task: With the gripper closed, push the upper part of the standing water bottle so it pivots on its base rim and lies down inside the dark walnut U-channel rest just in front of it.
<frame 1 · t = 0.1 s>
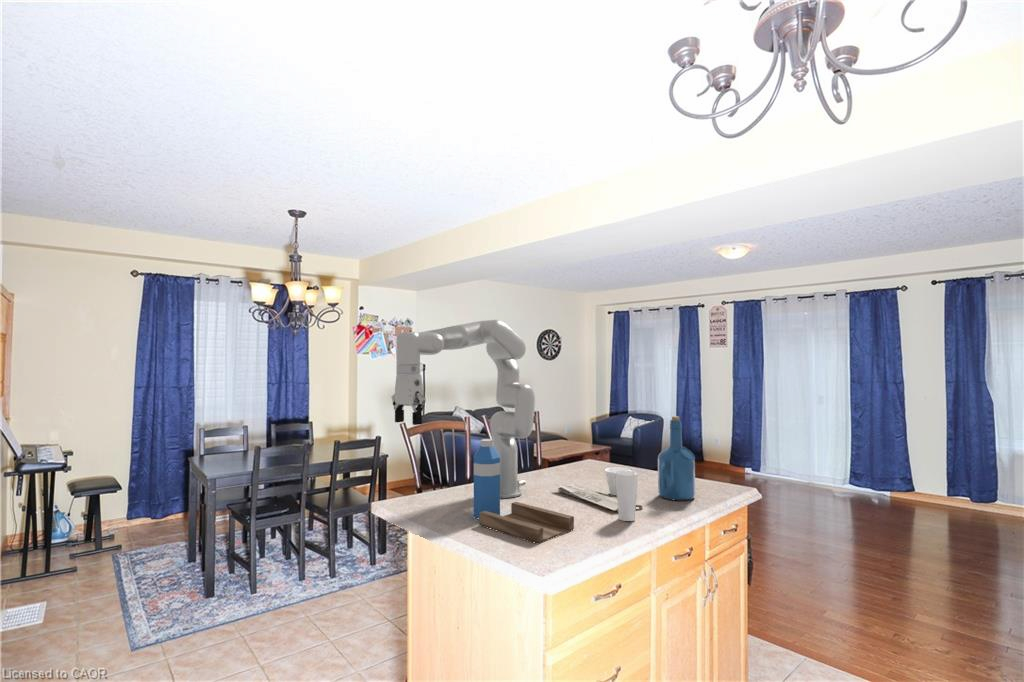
hand: (408, 423, 169), 31 cm above the worktop, tool pointing down, fingers open, 9 cm apart
water bottle: (486, 516, 173), on the worktop
newspaper: (594, 502, 191), on the worktop
u rest: (526, 527, 161), on the worktop
wine bottle: (677, 497, 196), on the worktop
drinking glass: (626, 520, 168), on the worktop
cup: (618, 495, 199), on the worktop
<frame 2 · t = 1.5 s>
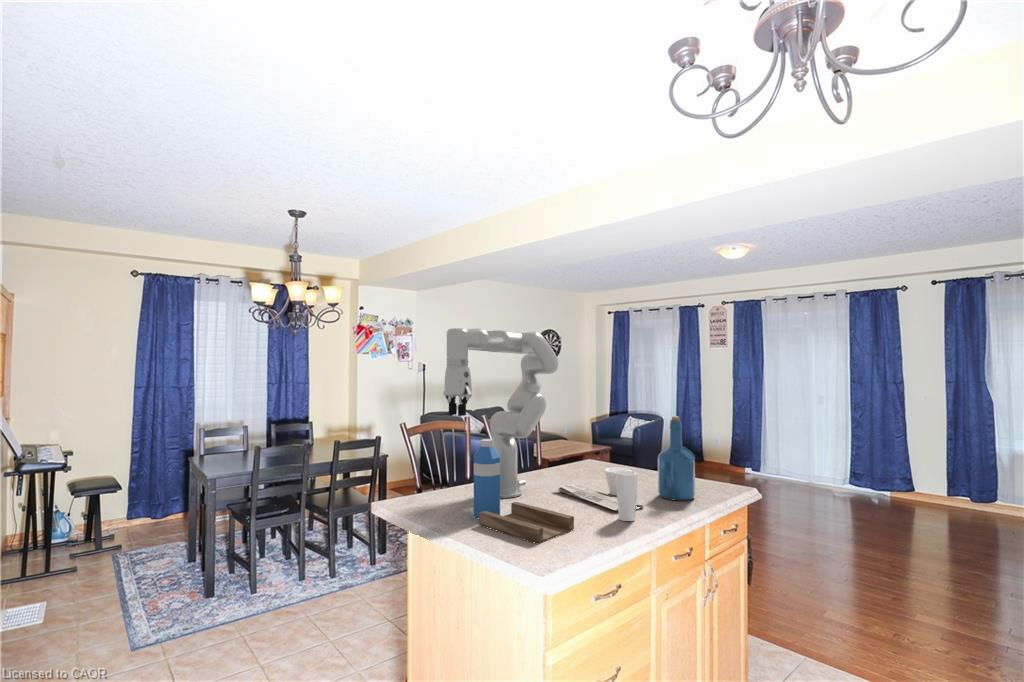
hand: (457, 414, 184), 32 cm above the worktop, tool pointing down, fingers open, 4 cm apart
nothing on the worktop moved.
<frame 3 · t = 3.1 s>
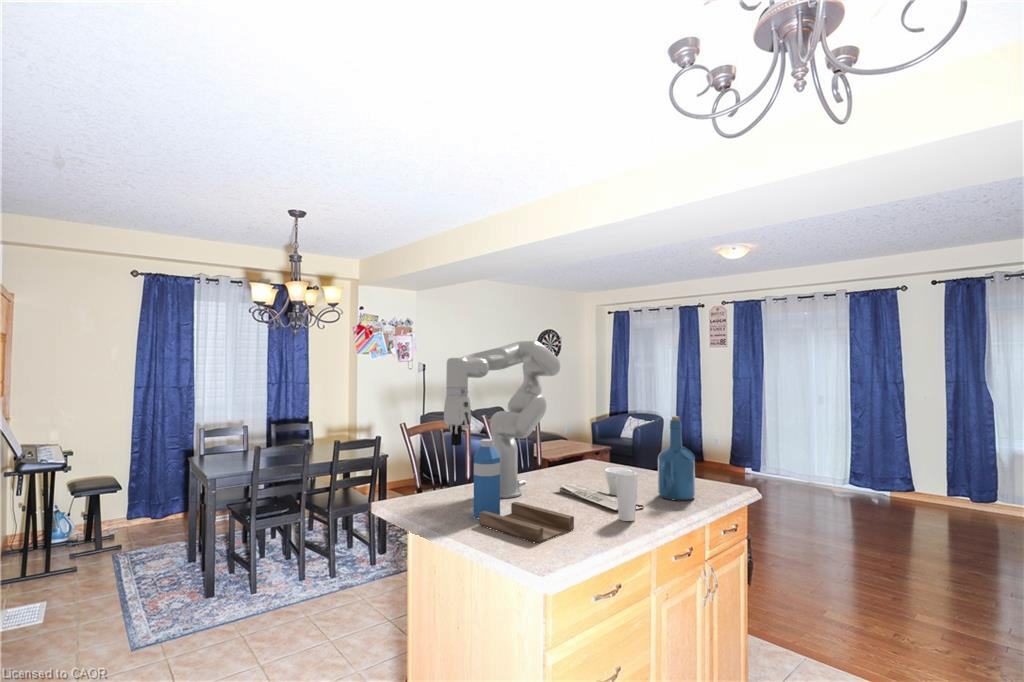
hand: (456, 444, 184), 22 cm above the worktop, tool pointing down, fingers closed
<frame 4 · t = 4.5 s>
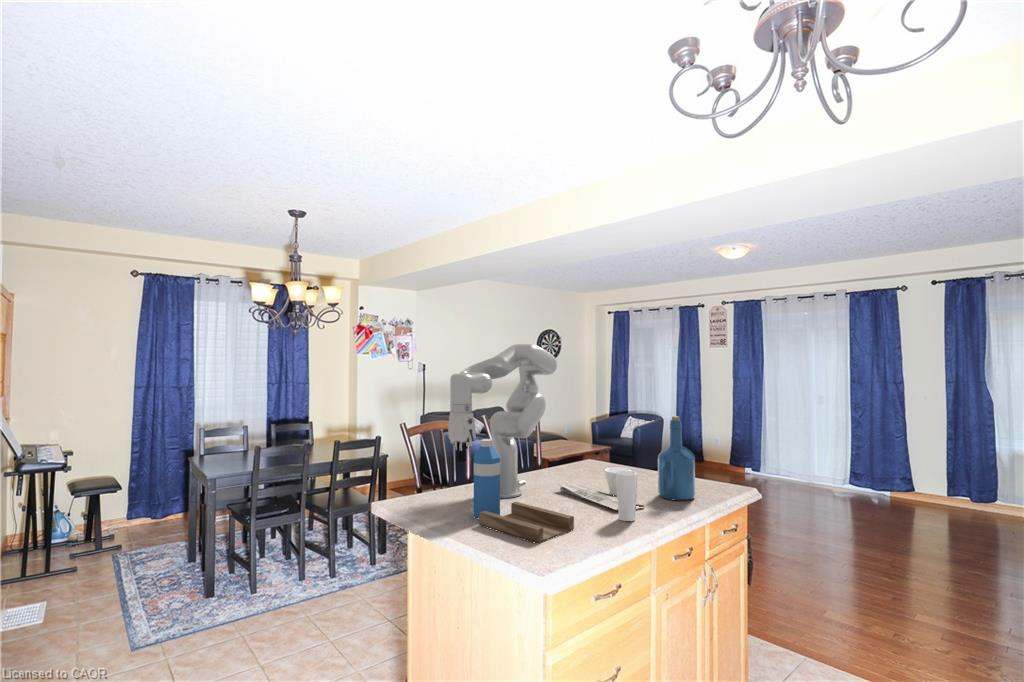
hand: (461, 461, 182), 16 cm above the worktop, tool pointing down, fingers closed
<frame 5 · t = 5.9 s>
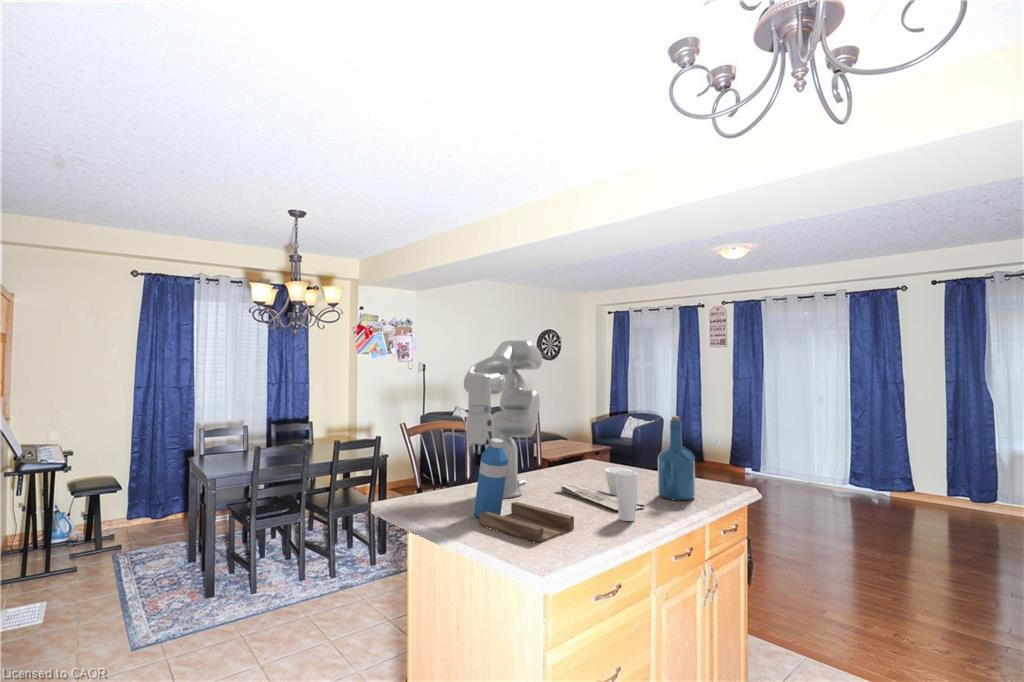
hand: (479, 464, 175), 16 cm above the worktop, tool pointing down, fingers closed
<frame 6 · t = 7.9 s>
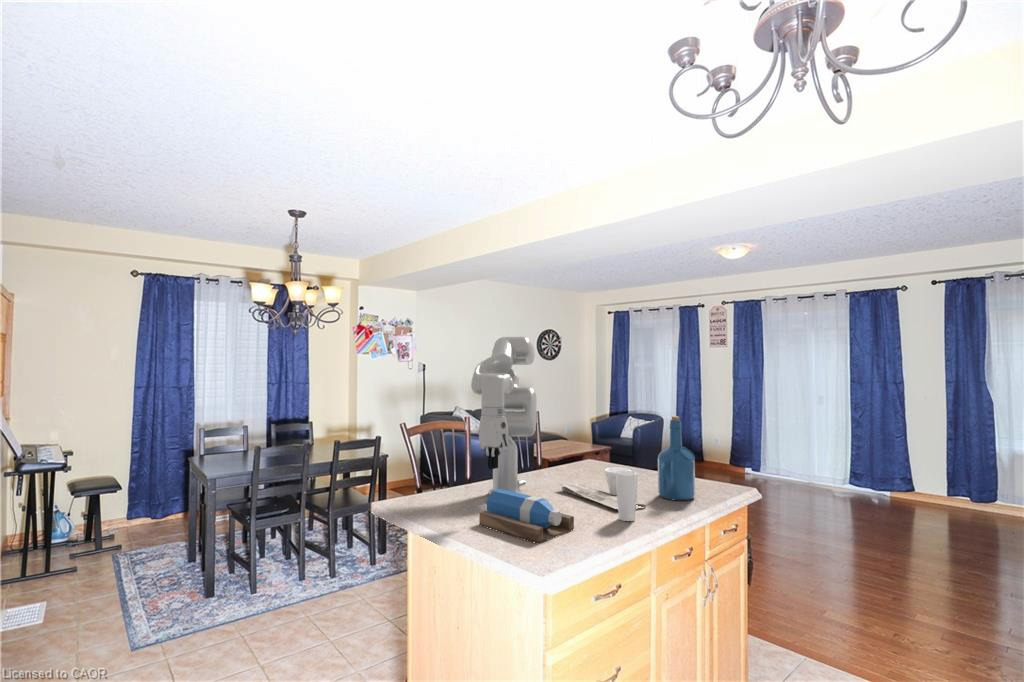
hand: (493, 468, 171), 16 cm above the worktop, tool pointing down, fingers closed
water bottle: (495, 503, 170), point 5 cm above the worktop, touching u rest
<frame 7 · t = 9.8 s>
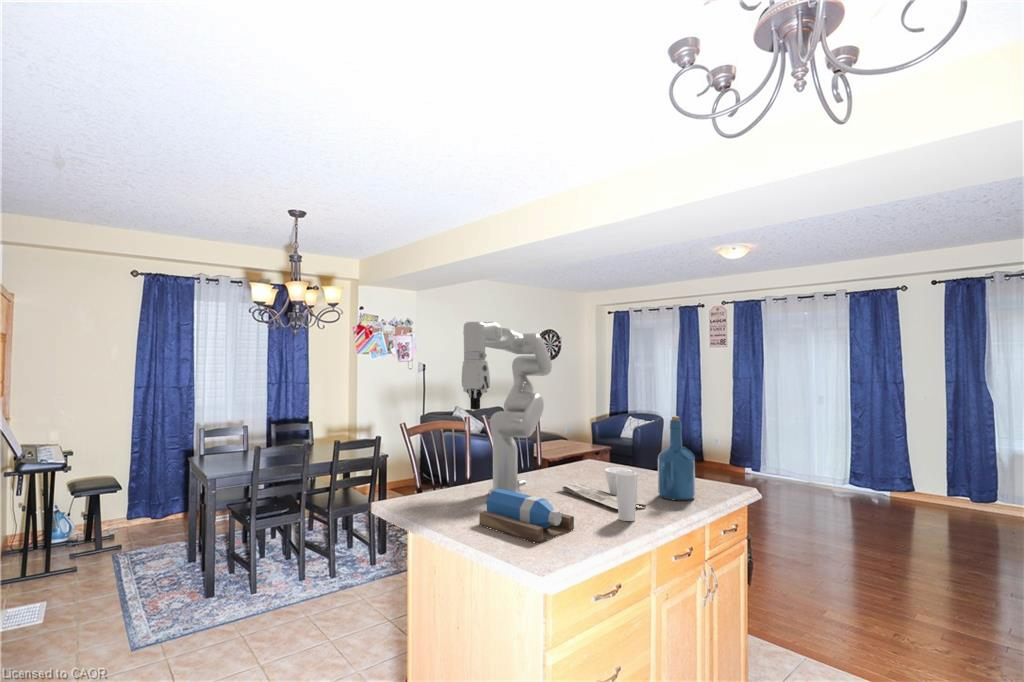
hand: (475, 409, 183), 34 cm above the worktop, tool pointing down, fingers closed
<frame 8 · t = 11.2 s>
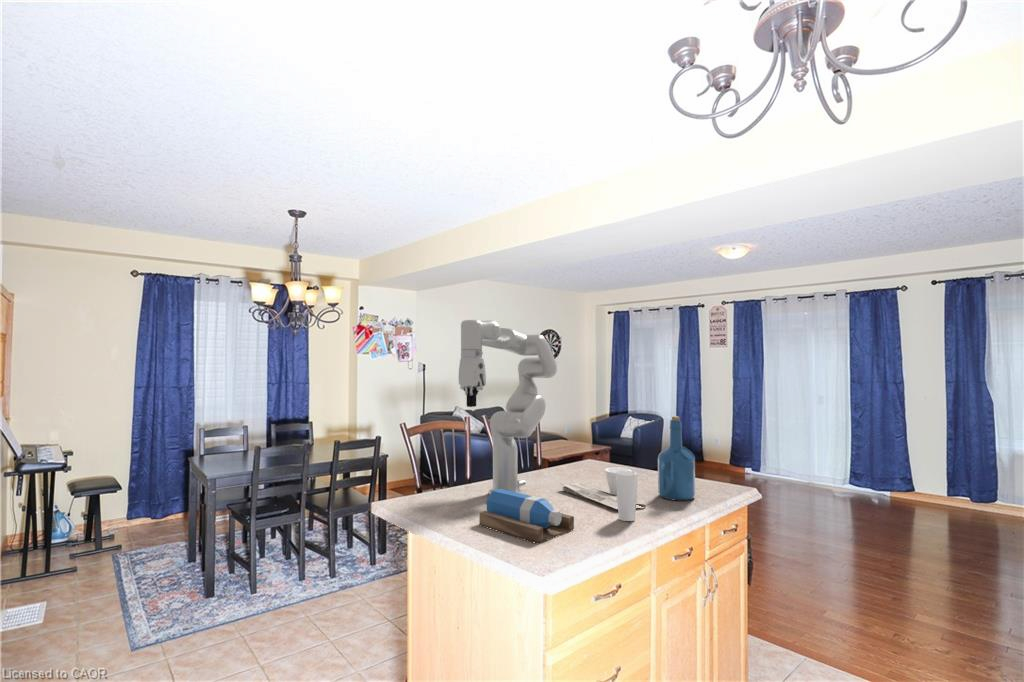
hand: (471, 406, 185), 35 cm above the worktop, tool pointing down, fingers closed
at the end: water bottle tilted 90°; water bottle inside the target area on the u rest (6.5 cm from its centre), point 4.9 cm above the u rest's base; water bottle touching u rest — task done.
